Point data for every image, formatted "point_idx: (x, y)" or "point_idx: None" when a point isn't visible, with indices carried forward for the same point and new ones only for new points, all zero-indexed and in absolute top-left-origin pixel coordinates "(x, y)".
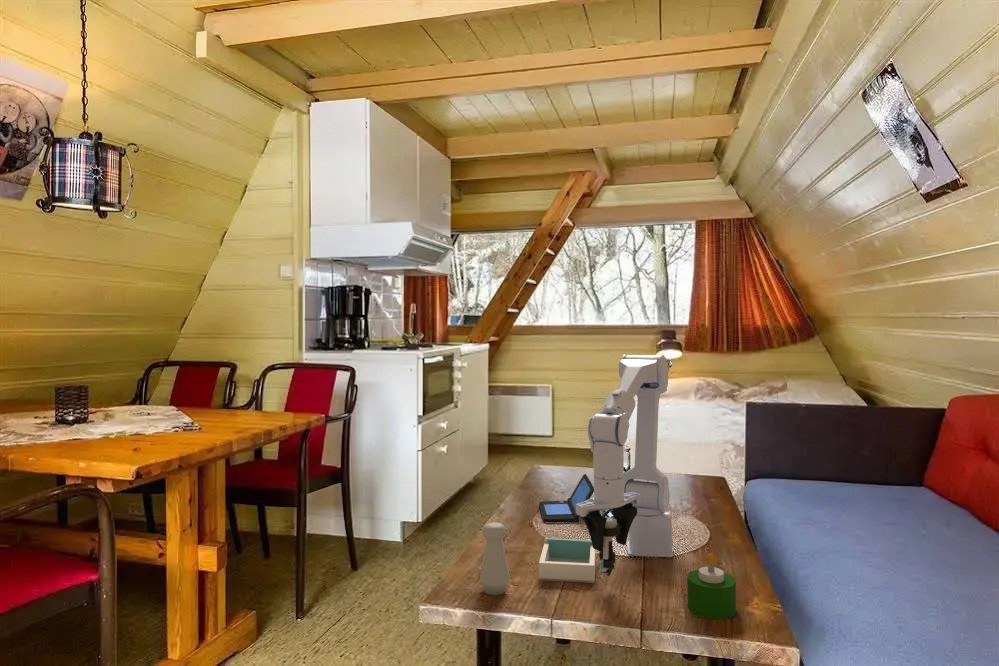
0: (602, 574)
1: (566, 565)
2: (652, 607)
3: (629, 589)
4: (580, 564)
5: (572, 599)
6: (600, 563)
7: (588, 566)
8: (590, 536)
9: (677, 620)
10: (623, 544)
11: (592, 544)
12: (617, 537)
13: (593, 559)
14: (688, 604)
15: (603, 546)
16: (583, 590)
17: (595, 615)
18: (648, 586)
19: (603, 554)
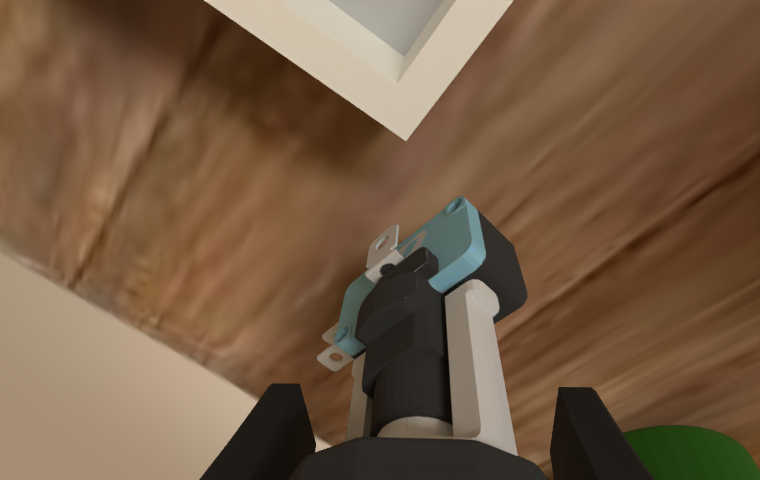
0: (334, 328)
1: (214, 1)
2: None
3: (528, 251)
4: (317, 70)
5: (204, 206)
6: (335, 336)
7: (370, 110)
8: (207, 473)
9: None
10: (551, 460)
11: (252, 410)
12: (566, 447)
13: (481, 25)
14: None
15: (347, 437)
16: (301, 150)
17: (242, 347)
18: (640, 269)
19: (356, 381)
